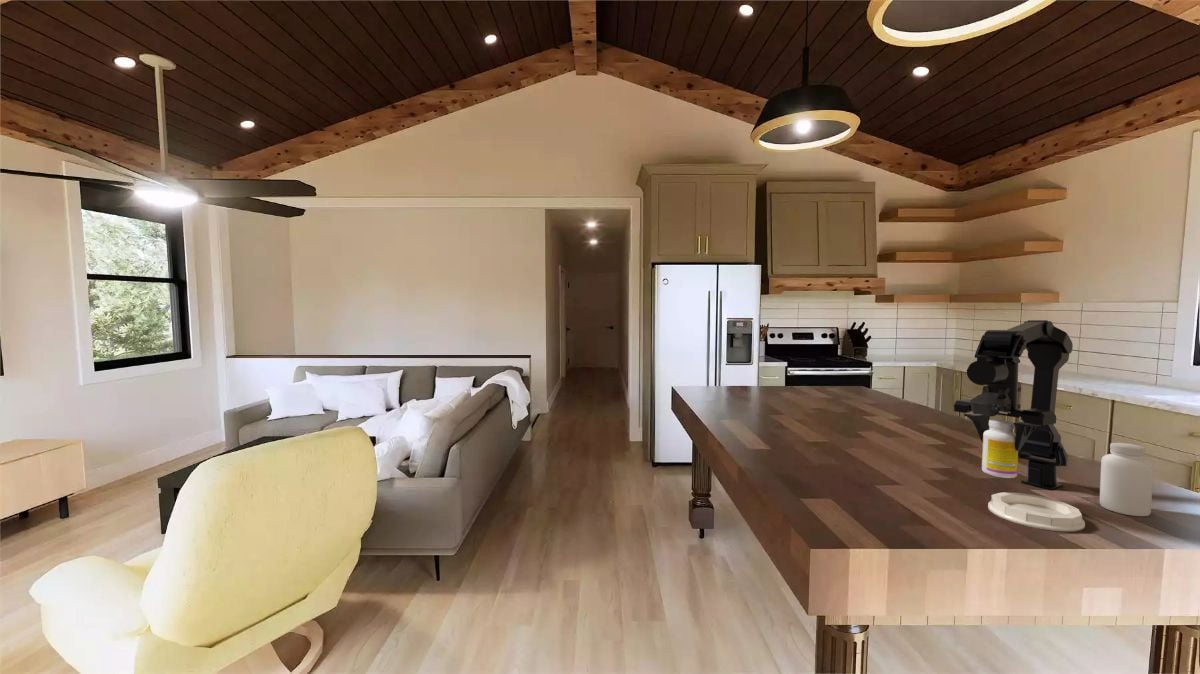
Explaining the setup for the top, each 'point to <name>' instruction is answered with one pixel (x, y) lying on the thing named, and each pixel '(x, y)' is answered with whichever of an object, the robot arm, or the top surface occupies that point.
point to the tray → (1036, 512)
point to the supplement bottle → (1000, 450)
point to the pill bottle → (1126, 480)
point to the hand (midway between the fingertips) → (1000, 446)
